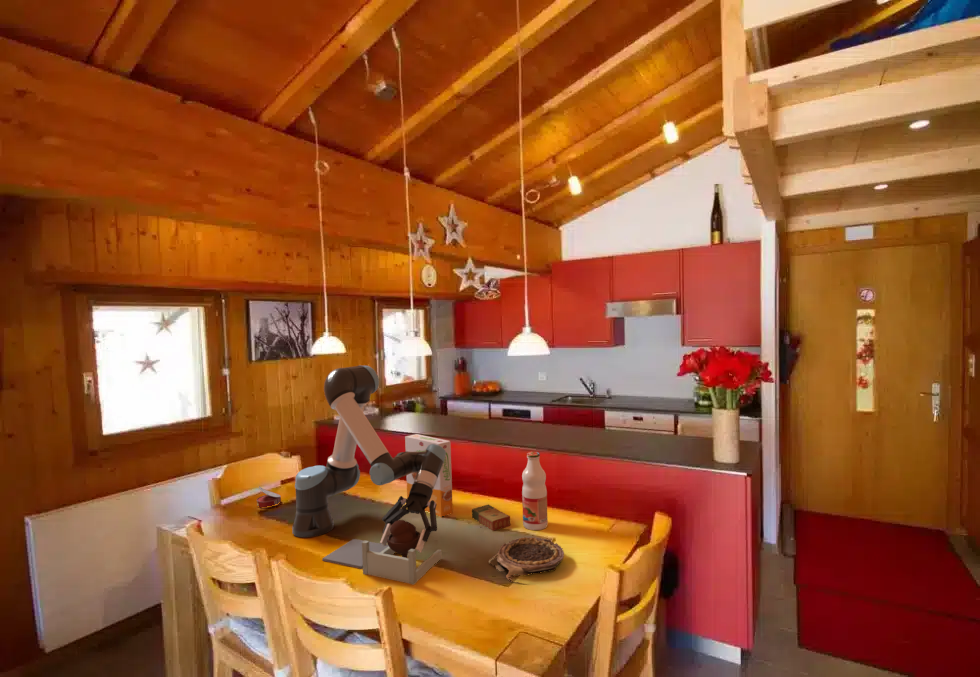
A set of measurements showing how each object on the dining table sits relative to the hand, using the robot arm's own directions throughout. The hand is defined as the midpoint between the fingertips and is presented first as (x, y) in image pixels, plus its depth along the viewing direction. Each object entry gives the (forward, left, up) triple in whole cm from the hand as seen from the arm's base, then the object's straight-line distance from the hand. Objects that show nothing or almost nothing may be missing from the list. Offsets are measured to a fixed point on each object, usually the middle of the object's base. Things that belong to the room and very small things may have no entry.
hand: (400, 547), depth 158 cm
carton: (+12, +44, -7) cm, 47 cm away
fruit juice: (+30, +46, -7) cm, 56 cm away
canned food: (-90, +29, -7) cm, 95 cm away
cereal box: (-18, +48, -7) cm, 52 cm away
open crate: (0, +2, -7) cm, 7 cm away
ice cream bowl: (0, +2, -7) cm, 7 cm away
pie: (+38, +18, -7) cm, 43 cm away
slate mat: (-20, +3, -7) cm, 21 cm away
